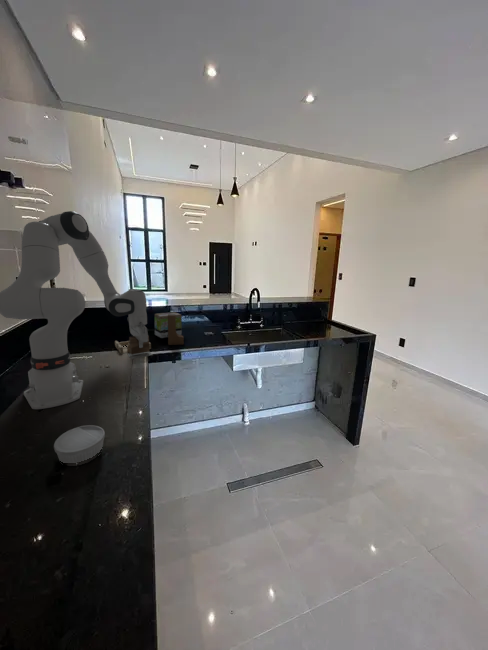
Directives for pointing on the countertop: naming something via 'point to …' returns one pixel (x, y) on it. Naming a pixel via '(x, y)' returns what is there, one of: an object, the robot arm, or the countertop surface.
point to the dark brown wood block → (135, 347)
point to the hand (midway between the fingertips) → (139, 346)
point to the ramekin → (79, 443)
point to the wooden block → (173, 332)
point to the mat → (139, 355)
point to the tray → (124, 349)
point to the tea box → (166, 324)
